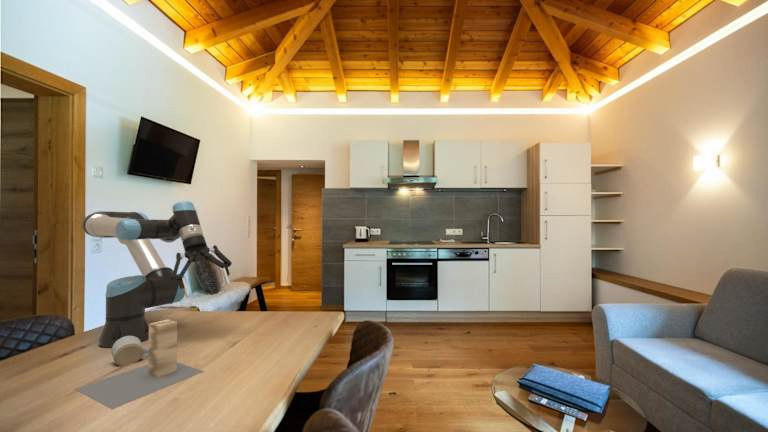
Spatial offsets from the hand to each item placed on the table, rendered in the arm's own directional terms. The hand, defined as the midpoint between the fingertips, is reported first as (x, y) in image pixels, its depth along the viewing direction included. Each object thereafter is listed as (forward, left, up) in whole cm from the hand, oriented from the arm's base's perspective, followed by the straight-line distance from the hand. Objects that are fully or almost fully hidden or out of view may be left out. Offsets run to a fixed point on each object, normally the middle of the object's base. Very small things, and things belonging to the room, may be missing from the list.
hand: (208, 290), depth 121 cm
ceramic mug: (-5, -22, -19) cm, 29 cm away
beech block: (+14, -23, -18) cm, 32 cm away
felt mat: (+14, -28, -19) cm, 36 cm away
